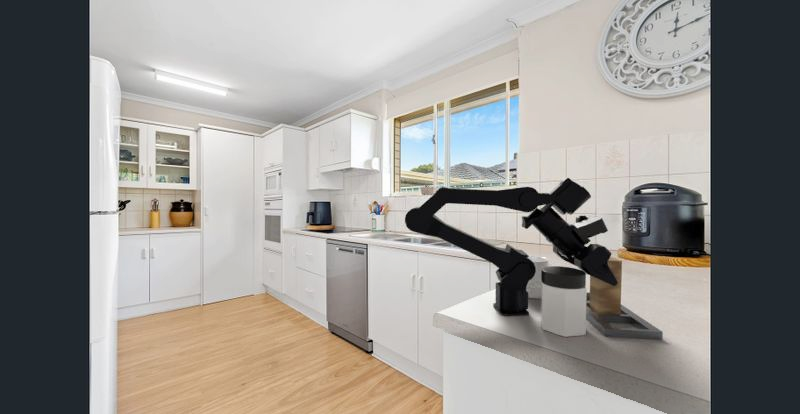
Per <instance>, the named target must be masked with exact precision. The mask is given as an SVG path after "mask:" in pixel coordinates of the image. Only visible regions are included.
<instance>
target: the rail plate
mask: <svg viewBox="0 0 800 414" xmlns="http://www.w3.org/2000/svg"><path fill="white" fill-rule="evenodd" d="M587 300H590V292H587V296H586V321H588V322H589V323H590V324H591V325H592V324H593V325H594V326H595V327H594V326H593V325H592V326H593V327H594V328H596V330H597V331H598V332H600V334H602V336H604V337H608V338H627V339H643V340H659V341H660V340H663V337H664V336H663V331H662V330H660V329H659V328H658V327H656V326H654V325H653V324H651V323H650V322H648V321H647V320H645V319H644V318H642V317H641V316H640V315H639V314H637V313H635V312H634V311H632V310H630V309H629V308H627V307H626V306H624V305H623V304H621V314H604V313H595V312H594V311H593V310H591V309H590V308H589V305H590V301H587ZM609 323H616V324H617V323H618V324H631V325H633V326H634V327H635V328H625V327H613V326H612V325H611V324H609Z"/></svg>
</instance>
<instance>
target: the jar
mask: <svg viewBox="0 0 800 414" xmlns="http://www.w3.org/2000/svg"><path fill="white" fill-rule="evenodd" d="M586 276H587V274H586V273H585V272H584V271H582V270H581V269H579V268H576V267H575V268H574V267H569V266H568V267H567V266H560V265H558V266H557V265H556V266H555V265H554V266H553V265H551V266H550V265H548V267H544V268H542V269H541V298H540V325H541V329H542V330H543V331H546V332H549V333H552V334H555V335H558V336H560V337H563V338H566V337H567V338H569V337H579V336H586V333H587V330H586V328H587V319H586V301H587V299H586V296H587V291H588V290H587V287H586V286H587V277H586Z"/></svg>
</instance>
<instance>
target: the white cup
mask: <svg viewBox="0 0 800 414" xmlns="http://www.w3.org/2000/svg"><path fill="white" fill-rule="evenodd" d="M528 256H529V257H528V258H529V259H530V260H531V261H532V262H533V263H534V265H535V267H536V272H535V275H534V277H533V278H532V279H531V280H529V281H528V284H527V286H526V291H527V292H528V299H541V269H542V268H544V267H549V258H547V257H543V256H539V255H528Z"/></svg>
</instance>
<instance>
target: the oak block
mask: <svg viewBox="0 0 800 414" xmlns="http://www.w3.org/2000/svg"><path fill="white" fill-rule="evenodd" d="M608 266H609V268H610V269H611V271H612V273H613V275H614V276H615V278H616V280H617V281H618V284H617V285H615V286H613V285H611V284H608V283H606V282H604V281H602V280H599V279H597V278H595V277H593V276H590V275H589V293H590V299H589V302H590V305H589V308H590V309H591V310H593V311H594V312H595V313H604V314H621V305H622V304H621V303H622V279H623V278H622V277H623V276H622V272H623V271H622V270H623V261H622V260H621V259H619V258H616V257H614V256H610V259H609V260H608Z"/></svg>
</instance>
